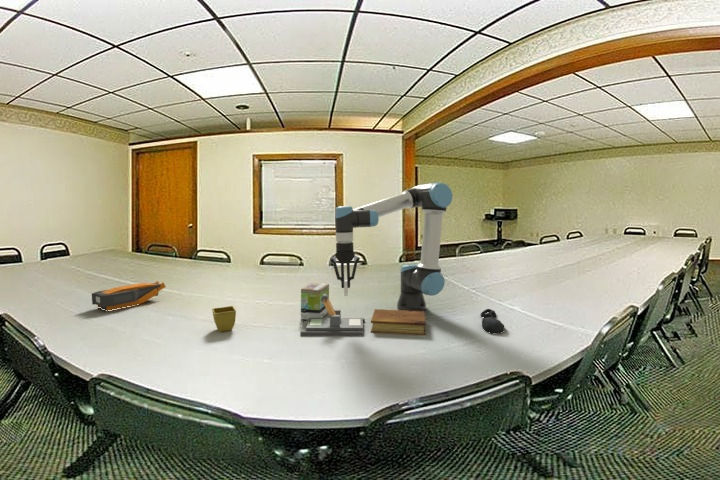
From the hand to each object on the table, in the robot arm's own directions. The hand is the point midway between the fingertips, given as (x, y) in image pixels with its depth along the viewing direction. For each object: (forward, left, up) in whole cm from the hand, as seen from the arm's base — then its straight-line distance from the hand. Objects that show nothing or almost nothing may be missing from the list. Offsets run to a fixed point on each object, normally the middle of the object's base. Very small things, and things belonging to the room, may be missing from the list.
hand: (346, 295), depth 165 cm
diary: (-23, 0, -15) cm, 28 cm away
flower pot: (+53, +4, -15) cm, 55 cm away
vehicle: (+117, -38, -15) cm, 124 cm away
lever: (+5, +2, -11) cm, 12 cm away
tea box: (+16, -17, -15) cm, 28 cm away
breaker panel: (+5, +2, -14) cm, 15 cm away
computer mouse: (-67, -6, -15) cm, 69 cm away
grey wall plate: (+5, +2, -14) cm, 15 cm away
